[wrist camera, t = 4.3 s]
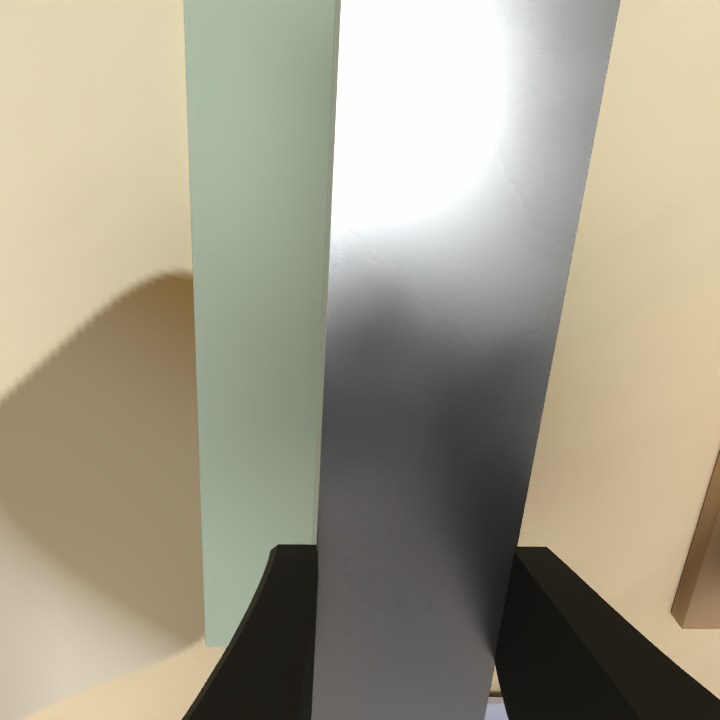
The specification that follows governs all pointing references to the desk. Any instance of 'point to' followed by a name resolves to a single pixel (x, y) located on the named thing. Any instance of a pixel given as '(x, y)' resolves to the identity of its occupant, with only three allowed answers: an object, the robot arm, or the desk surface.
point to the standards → (702, 568)
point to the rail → (440, 330)
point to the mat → (256, 279)
